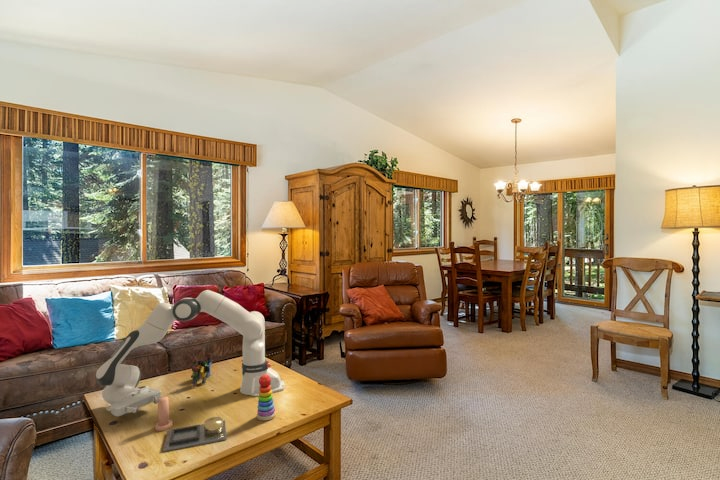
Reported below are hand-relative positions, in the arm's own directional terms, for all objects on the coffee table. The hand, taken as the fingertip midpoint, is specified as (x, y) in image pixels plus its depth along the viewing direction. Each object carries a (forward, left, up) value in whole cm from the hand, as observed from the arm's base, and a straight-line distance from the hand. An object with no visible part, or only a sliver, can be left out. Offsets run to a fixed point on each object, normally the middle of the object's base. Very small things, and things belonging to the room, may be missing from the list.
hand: (147, 405), depth 167 cm
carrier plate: (-20, +22, -7) cm, 30 cm away
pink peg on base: (-7, +9, -7) cm, 13 cm away
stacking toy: (-48, +16, -7) cm, 51 cm away
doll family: (-21, -38, -7) cm, 44 cm away
